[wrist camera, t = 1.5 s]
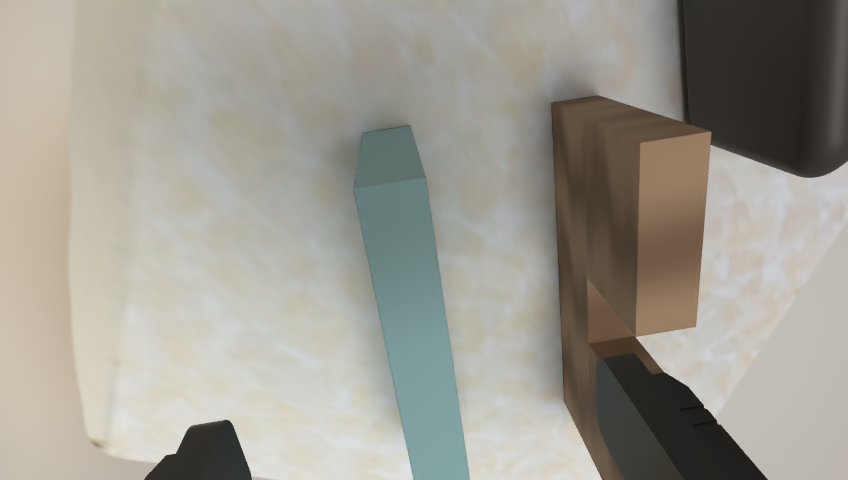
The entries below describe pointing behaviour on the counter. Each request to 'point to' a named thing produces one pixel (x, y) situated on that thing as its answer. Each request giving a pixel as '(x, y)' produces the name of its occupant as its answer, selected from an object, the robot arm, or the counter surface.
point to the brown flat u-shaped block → (623, 241)
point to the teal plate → (410, 300)
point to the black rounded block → (771, 80)
